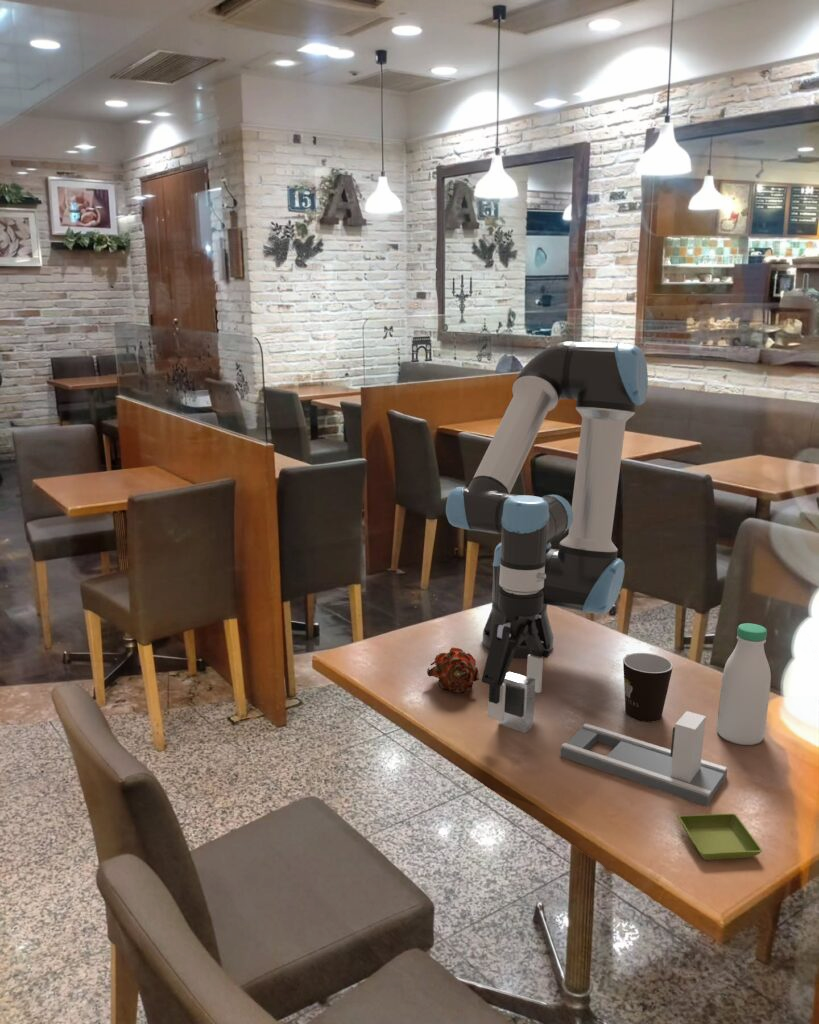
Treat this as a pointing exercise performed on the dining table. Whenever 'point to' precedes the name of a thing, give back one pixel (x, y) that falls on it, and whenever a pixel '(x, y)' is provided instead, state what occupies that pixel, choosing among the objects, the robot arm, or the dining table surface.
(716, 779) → the rail
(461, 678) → the dragon fruit
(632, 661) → the coffee mug
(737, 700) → the milk bottle
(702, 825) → the green square tray
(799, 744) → the dining table surface
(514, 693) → the block
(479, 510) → the robot arm
